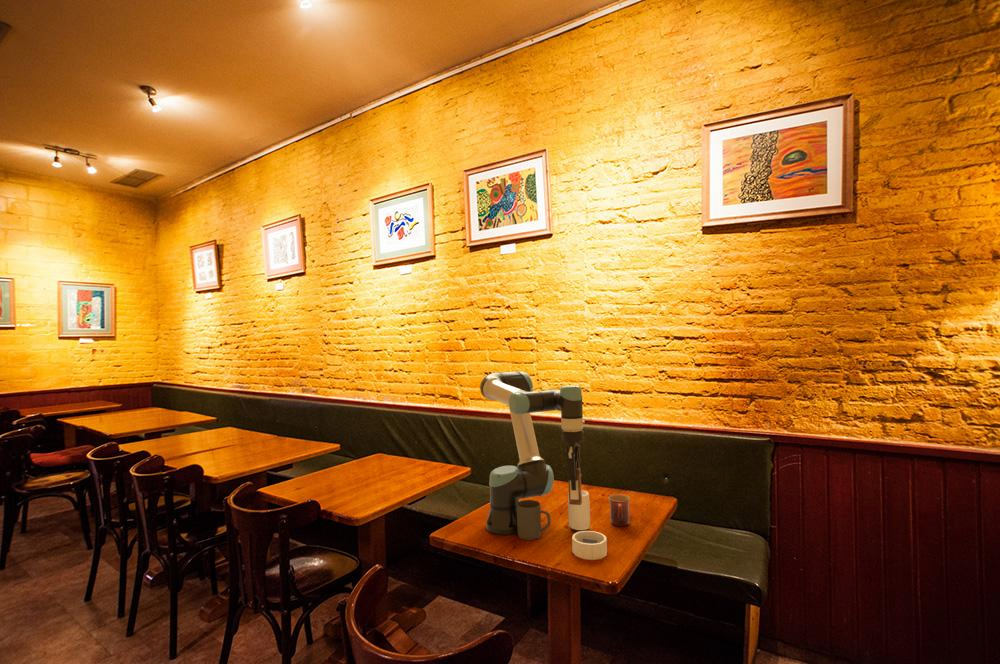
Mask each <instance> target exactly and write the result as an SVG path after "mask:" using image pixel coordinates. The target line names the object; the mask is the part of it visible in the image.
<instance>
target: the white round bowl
mask: <svg viewBox="0 0 1000 664" xmlns="http://www.w3.org/2000/svg"><path fill="white" fill-rule="evenodd" d="M571 541H572V542H571V548H572V553H573V554H574V556H575V557H577V558H579V559H582V560H587V561H588V560H590V561H594V560H602V559H603V558H605V557H607V553H608V540H607V536H606V535H604V534H603V533H601V532H599V531H595V530H579V531H576V532H575V533H573V534H572V537H571Z"/></svg>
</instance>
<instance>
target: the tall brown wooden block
mask: <svg viewBox="0 0 1000 664" xmlns="http://www.w3.org/2000/svg"><path fill="white" fill-rule="evenodd" d="M581 471H582V470H581V467H580V468H577V480H578V494H579V500H575V499H571V497H570V480H567V481H568V483H567V484H568V485H567V486H568V493H569V504H573V505H581V504H582V491H581V490H582V477H581V475H582V472H581Z"/></svg>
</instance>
